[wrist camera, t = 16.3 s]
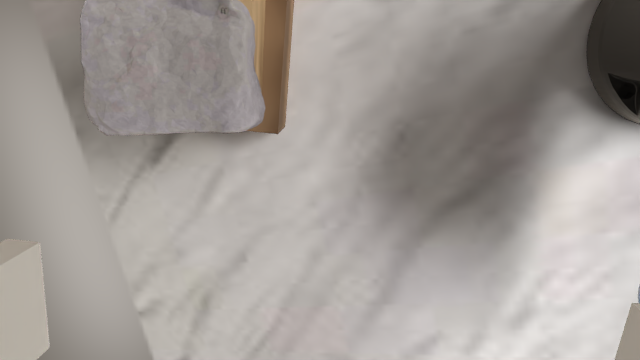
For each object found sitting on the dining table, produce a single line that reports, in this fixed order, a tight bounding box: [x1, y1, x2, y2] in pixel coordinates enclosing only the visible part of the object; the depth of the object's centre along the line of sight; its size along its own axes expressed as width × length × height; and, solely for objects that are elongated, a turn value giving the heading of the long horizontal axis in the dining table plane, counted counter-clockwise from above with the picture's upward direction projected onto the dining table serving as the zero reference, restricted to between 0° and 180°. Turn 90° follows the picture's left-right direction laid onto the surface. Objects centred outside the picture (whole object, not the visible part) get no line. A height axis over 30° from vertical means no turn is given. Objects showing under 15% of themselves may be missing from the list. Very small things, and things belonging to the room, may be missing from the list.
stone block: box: [80, 0, 265, 135], centre depth 30 cm, size 12×5×10 cm
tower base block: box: [247, 0, 294, 134], centre depth 39 cm, size 12×12×5 cm
